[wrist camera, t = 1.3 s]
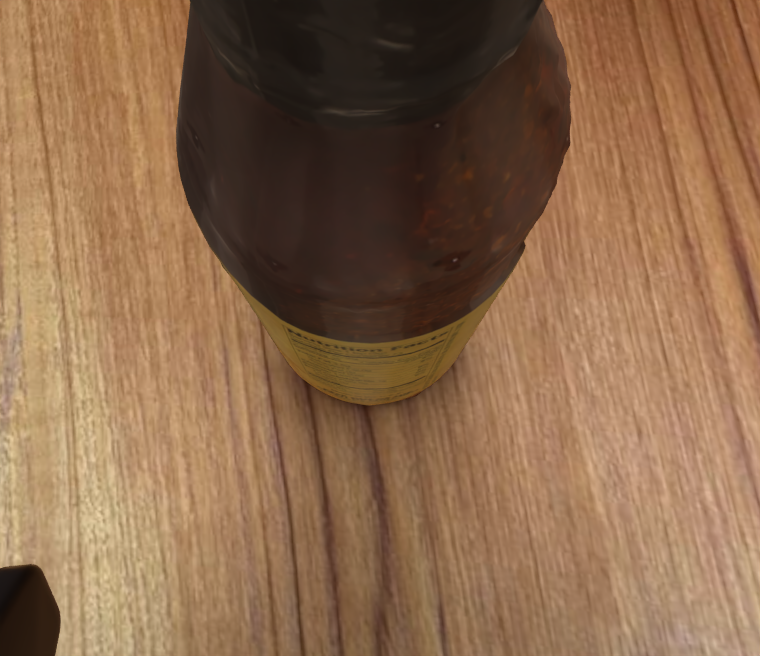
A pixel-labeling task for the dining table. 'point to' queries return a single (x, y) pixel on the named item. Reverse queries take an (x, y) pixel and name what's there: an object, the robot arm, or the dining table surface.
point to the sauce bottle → (371, 171)
